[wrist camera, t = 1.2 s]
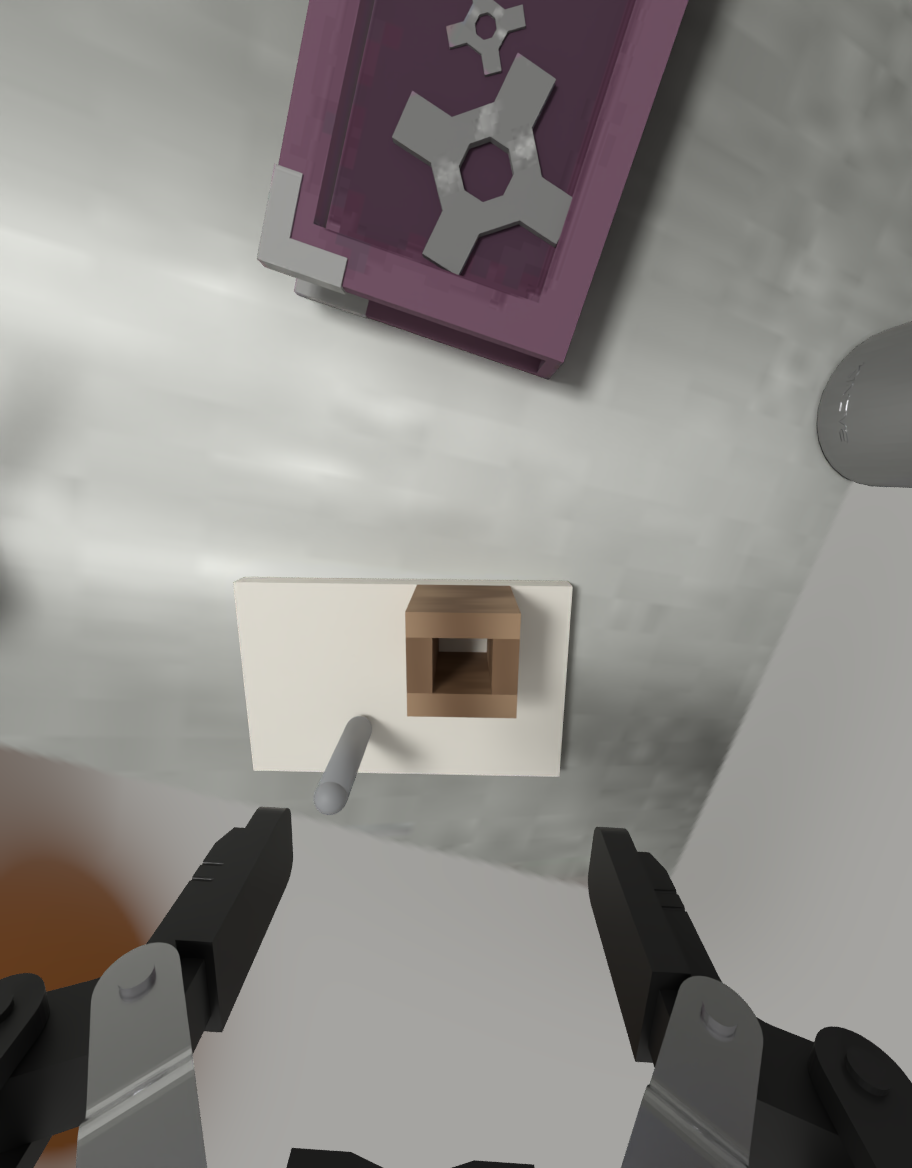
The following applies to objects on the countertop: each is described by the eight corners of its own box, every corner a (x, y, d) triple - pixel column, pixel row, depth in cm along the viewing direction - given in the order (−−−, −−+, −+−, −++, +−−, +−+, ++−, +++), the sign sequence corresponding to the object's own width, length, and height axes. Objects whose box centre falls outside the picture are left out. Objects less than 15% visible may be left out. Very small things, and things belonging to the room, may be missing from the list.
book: (412, -276, 22) (396, -490, 17) (726, -145, 23) (797, -315, 18) (293, 296, 28) (256, 258, 23) (546, 382, 28) (562, 364, 24)
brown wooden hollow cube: (510, 585, 30) (521, 613, 24) (506, 672, 31) (516, 718, 25) (416, 584, 30) (404, 611, 24) (418, 670, 31) (407, 716, 25)
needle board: (567, 581, 31) (613, 630, 21) (555, 763, 34) (590, 877, 25) (243, 577, 31) (145, 623, 22) (262, 757, 35) (184, 867, 25)
